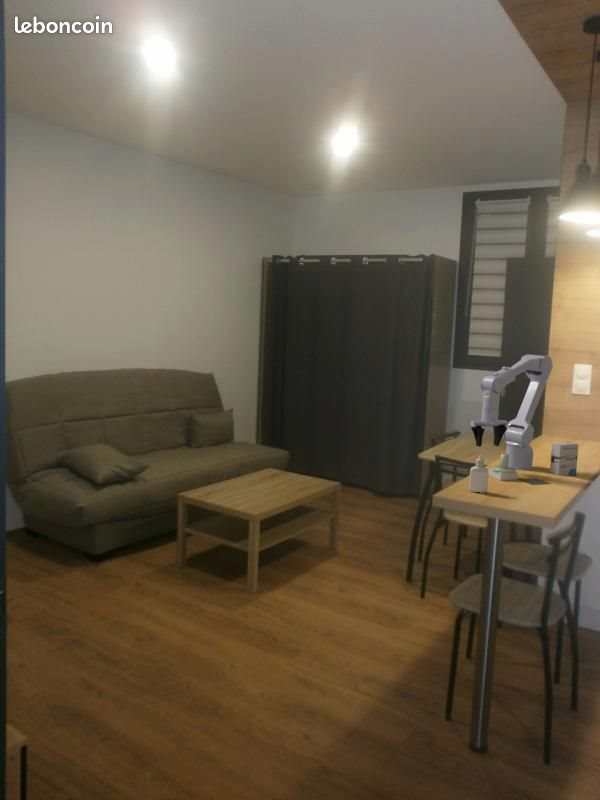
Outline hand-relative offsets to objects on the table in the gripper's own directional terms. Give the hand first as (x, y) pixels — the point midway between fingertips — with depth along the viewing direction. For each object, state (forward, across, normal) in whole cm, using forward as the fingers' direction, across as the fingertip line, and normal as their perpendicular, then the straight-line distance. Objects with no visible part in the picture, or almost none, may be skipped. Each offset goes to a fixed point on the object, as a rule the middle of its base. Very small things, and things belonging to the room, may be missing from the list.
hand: (487, 445), depth 241 cm
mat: (+10, +8, -16) cm, 21 cm away
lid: (+7, 0, -10) cm, 12 cm away
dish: (+10, 0, -10) cm, 14 cm away
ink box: (+10, +28, -8) cm, 31 cm away
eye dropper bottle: (+10, -19, -23) cm, 31 cm away
